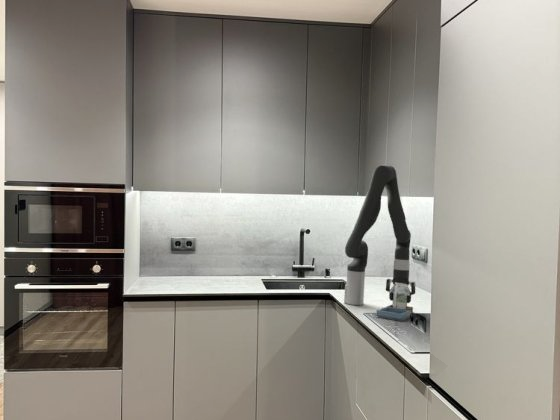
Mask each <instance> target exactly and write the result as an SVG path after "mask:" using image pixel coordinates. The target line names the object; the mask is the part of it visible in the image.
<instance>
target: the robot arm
mask: <svg viewBox="0 0 560 420" xmlns="http://www.w3.org/2000/svg"><path fill="white" fill-rule="evenodd" d="M397 175H398V174H397V170H396V168H395V167H394V166H392V165H390V164H378V166H376V167H375V168H374V170H373V173H372V175H371V176H372V177H371V180H370V183H369V187H368V191H367V193H366V196H365V198H364V200H363V204H362V206H361V208H360V211H359V214H358V217H357V220H356V222H355V224H354V227H353V229H352V231H351V233H350V236H349V237H348V239H347V242H346V244H345V248H344V252H345V255H346V257H347V258H349V259H352V260H351V262H350V263H349V264H347V270H346V284H345V285H344V299H343V303H344V304H347V305H353V306H362V305H364V300H365V299H364V298H365V277H366V268H367V266H368V255H369V246H368V243H367V242H366V241H364V239H363V238H364V237H365V235H366V234H367V233H368V231H369V230H370V229H371V228H372V227H373V226H374V225H375V223H376V222H377V220H378V217H379V214H380V212H381V208H382V194H383V192H384V189H385V190H386V195H387V210H388V214H389V217H390V221H391V224H392V230H393V234H394V237H395V239H396V240H395V242H396V243H395V248H394V260H393V266H392V267H393V269H392V270H393V271H392V279H391V278H387V279H386V280H385V291H386V292H388V293H389V295H388V297H389V300H390V301H392V302H393V290H394V288H395V282H396V283H401V284H407V285H408V286H410V287H411V288H410V287H408V289H407V288H406V287H405V292H406V293H407V294H408V295H407V304H410V303H411V302H412V295H415V294H416V281H410V279H409V278H410V248H411V239H412V234H411V231H410V230H409V227H408V224H407V222H406V219H407V218H406V215H405V211H404V208H403V205H402V200H401V196H400V191H399V184H398V178H397ZM391 284H392V287H391Z"/></svg>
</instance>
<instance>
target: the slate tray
mask: <svg viewBox="0 0 560 420" xmlns="http://www.w3.org/2000/svg"><path fill="white" fill-rule="evenodd" d="M411 314H412V313H411V311H410V310H404V309H398V308H392V307H387V306H385V307H381V308H378V309H377V310H376V316H378V317H377V318H380V317H383V318H382V319H386V318H388V319H387V320H393V321H398V322H403V321H405V320H407V319H410V318H411V317H410V315H411ZM376 316H375V317H376ZM411 316H412V315H411ZM409 317H410V318H409Z"/></svg>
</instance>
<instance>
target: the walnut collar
mask: <svg viewBox="0 0 560 420" xmlns="http://www.w3.org/2000/svg"><path fill="white" fill-rule="evenodd" d="M386 307H392V304H390V305H386ZM392 308H393V307H392ZM398 309H399V308H398ZM404 310H410V311H411V314H412V313H414V307H413V306H410V305H409V306H408V305H407V309H404Z"/></svg>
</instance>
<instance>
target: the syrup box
mask: <svg viewBox="0 0 560 420" xmlns="http://www.w3.org/2000/svg"><path fill="white" fill-rule="evenodd" d="M405 287H406V288H407V289H408V288H409V285H407V284H401V283H396V282H395V288H394V290H393V300H392V304H391V305H392V307H393V308H399V309H407V306H408V303H407V295H408V294H407V293H406V292H405Z"/></svg>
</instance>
